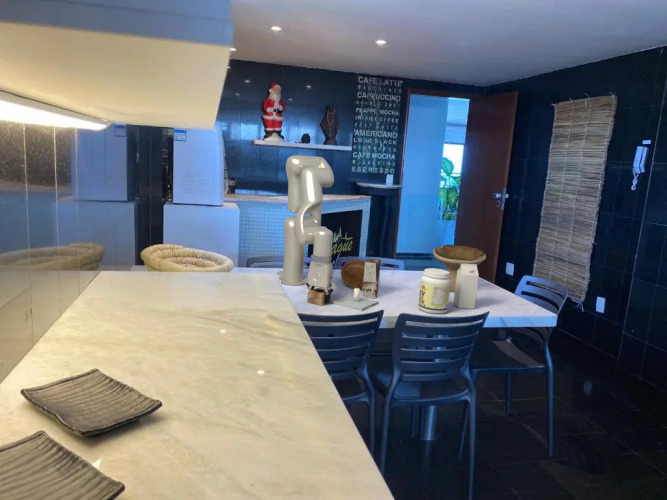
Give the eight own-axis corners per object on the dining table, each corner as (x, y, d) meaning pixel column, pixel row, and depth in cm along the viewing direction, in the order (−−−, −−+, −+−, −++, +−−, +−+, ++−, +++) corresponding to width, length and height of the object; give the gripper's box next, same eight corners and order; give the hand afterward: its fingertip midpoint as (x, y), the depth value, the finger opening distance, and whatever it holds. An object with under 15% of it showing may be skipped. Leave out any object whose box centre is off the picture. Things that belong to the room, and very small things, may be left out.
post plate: (333, 303, 210) (334, 288, 209) (350, 296, 222) (351, 282, 220) (361, 311, 203) (363, 295, 201) (378, 303, 214) (379, 289, 213)
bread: (343, 290, 232) (345, 266, 230) (338, 275, 261) (339, 253, 259) (376, 292, 234) (378, 268, 232) (368, 276, 262) (369, 255, 260)
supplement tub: (415, 305, 216) (419, 266, 213) (443, 306, 217) (447, 268, 214) (421, 314, 204) (425, 273, 201) (451, 315, 205) (455, 275, 202)
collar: (307, 302, 209) (308, 290, 208) (317, 299, 215) (317, 287, 214) (321, 306, 205) (322, 294, 204) (330, 302, 211) (331, 291, 210)
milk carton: (453, 303, 223) (458, 261, 219) (468, 304, 224) (474, 262, 220) (458, 308, 216) (463, 265, 212) (474, 309, 217) (479, 266, 213)
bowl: (419, 286, 250) (423, 246, 246) (445, 279, 268) (449, 242, 264) (465, 298, 233) (471, 256, 229) (490, 290, 251) (495, 251, 247)
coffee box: (376, 298, 221) (379, 263, 218) (361, 297, 223) (364, 261, 220) (378, 293, 230) (381, 259, 227) (364, 292, 231) (367, 257, 228)
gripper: (299, 257, 208) (297, 298, 211) (334, 264, 199) (331, 307, 202) (310, 254, 214) (307, 295, 218) (344, 261, 205) (341, 303, 209)
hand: (319, 300), depth 210 cm, fingers closed on collar, 7 cm apart
